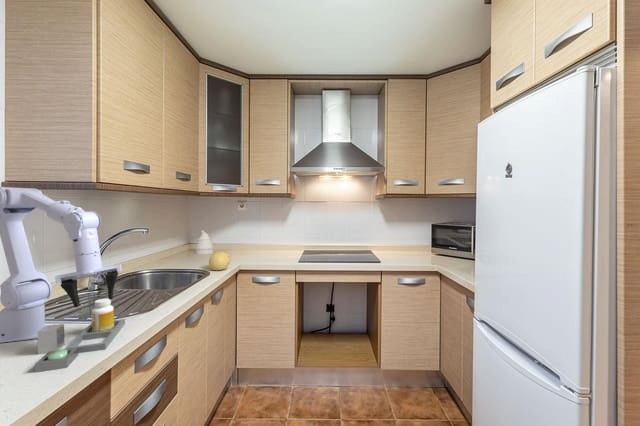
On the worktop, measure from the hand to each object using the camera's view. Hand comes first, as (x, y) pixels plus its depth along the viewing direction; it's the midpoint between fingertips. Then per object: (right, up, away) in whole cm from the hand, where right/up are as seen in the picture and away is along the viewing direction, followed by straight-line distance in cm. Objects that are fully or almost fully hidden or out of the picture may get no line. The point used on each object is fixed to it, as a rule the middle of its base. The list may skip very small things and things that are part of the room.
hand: (94, 302), depth 82 cm
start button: (-1, -11, -10) cm, 15 cm away
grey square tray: (-1, -12, -10) cm, 16 cm away
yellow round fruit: (+2, -9, +95) cm, 96 cm away
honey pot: (-31, -8, +157) cm, 160 cm away
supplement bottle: (-3, -12, +8) cm, 15 cm away
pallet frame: (-2, -11, +4) cm, 12 cm away
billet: (-9, -12, -3) cm, 15 cm away
